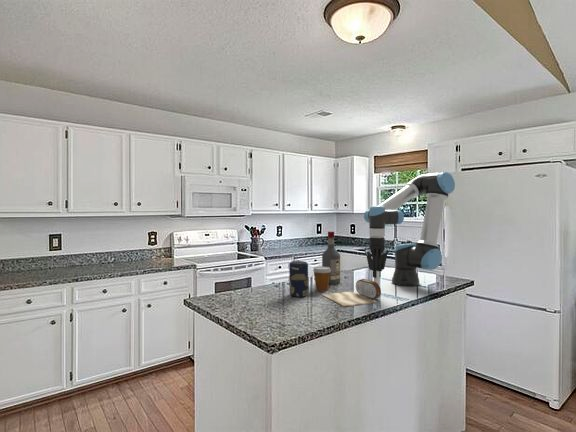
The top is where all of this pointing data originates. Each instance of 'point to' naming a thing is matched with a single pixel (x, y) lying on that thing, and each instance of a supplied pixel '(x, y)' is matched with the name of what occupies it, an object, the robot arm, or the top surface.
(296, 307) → the top surface
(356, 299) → the oak board
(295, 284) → the canister
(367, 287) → the tin
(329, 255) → the liquor
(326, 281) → the disposable coffee cup
